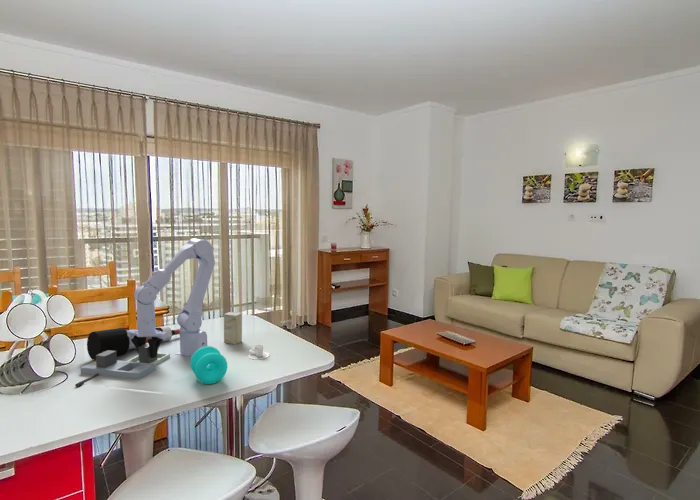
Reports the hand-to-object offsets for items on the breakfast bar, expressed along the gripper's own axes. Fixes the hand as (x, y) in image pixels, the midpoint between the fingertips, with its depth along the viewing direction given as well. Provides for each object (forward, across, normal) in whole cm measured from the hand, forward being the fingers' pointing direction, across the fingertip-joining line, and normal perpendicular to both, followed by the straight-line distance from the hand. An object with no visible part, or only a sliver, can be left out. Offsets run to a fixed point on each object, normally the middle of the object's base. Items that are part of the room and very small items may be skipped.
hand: (148, 356), depth 144 cm
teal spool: (+2, +29, -8) cm, 30 cm away
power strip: (+2, -4, -14) cm, 15 cm away
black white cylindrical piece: (+2, -13, +12) cm, 18 cm away
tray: (+2, 0, 0) cm, 2 cm away
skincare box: (+2, +19, +27) cm, 33 cm away
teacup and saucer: (+3, +36, +18) cm, 41 cm away
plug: (+2, 0, 0) cm, 2 cm away
